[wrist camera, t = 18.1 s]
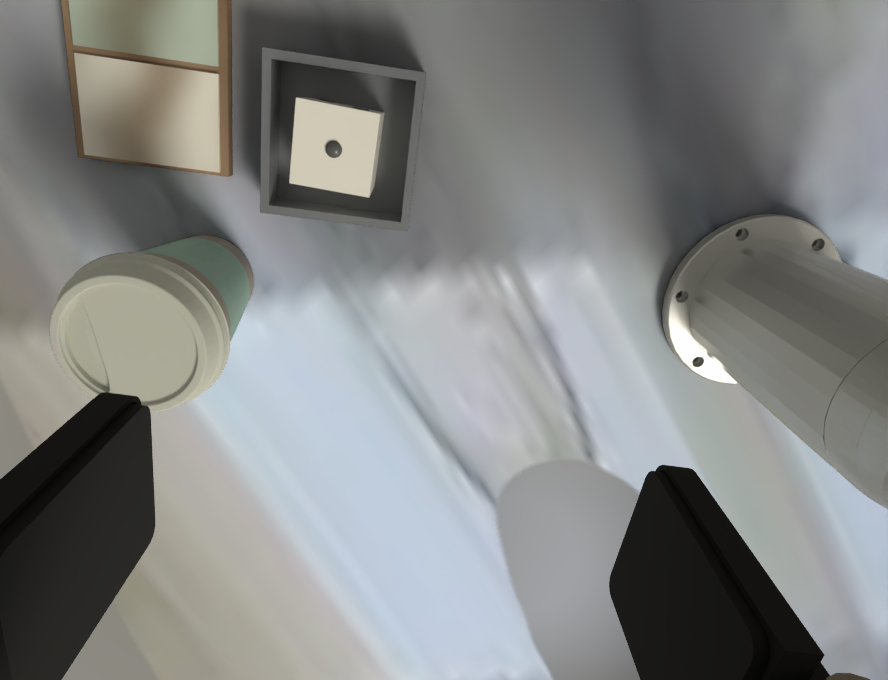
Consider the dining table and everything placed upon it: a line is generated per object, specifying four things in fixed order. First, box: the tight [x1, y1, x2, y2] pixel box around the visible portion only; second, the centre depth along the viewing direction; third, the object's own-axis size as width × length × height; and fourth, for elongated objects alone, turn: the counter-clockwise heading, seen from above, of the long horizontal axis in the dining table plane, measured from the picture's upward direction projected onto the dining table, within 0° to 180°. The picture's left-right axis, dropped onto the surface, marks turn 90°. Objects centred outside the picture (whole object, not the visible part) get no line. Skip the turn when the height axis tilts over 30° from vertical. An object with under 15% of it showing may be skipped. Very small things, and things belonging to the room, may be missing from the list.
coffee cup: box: [49, 235, 254, 413], centre depth 33 cm, size 9×9×12 cm
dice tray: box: [260, 47, 426, 231], centre depth 34 cm, size 9×9×3 cm
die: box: [289, 97, 385, 198], centre depth 33 cm, size 5×5×5 cm
